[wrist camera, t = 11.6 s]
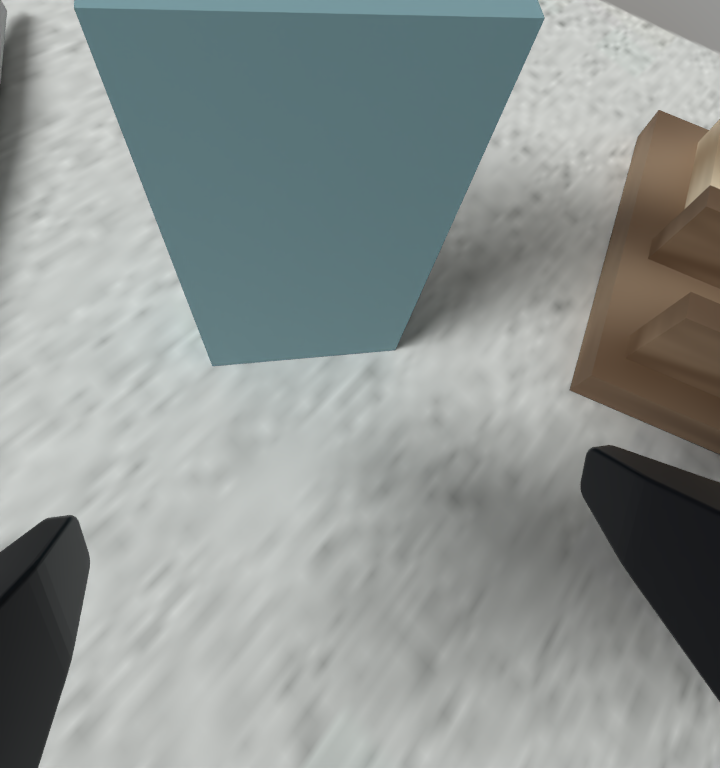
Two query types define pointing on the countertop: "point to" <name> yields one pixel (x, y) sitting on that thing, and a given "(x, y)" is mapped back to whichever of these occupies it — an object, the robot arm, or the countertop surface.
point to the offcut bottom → (705, 164)
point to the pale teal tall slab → (306, 152)
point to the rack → (659, 295)
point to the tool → (2, 32)
